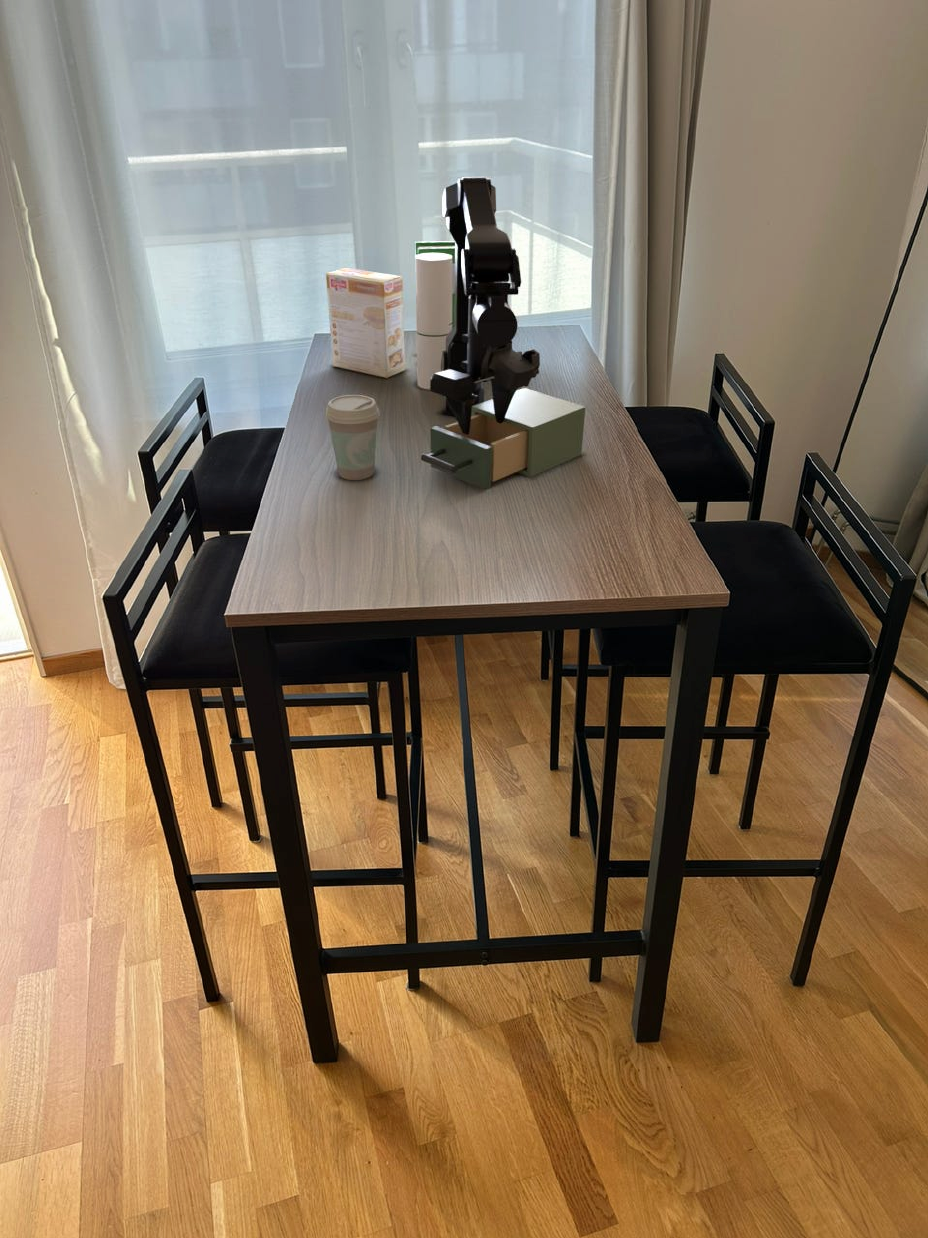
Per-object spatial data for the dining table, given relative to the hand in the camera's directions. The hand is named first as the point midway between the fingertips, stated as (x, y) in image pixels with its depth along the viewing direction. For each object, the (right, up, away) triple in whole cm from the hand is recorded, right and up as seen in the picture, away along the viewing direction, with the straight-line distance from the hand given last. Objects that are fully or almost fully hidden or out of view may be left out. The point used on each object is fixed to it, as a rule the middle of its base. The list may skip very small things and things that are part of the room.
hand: (483, 428), depth 143 cm
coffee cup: (-21, -7, +4) cm, 22 cm away
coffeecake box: (-24, +24, +50) cm, 60 cm away
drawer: (-1, -6, +3) cm, 7 cm away
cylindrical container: (-9, +18, +42) cm, 47 cm away
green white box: (-4, +28, +57) cm, 63 cm away
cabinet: (+8, -2, +11) cm, 14 cm away
